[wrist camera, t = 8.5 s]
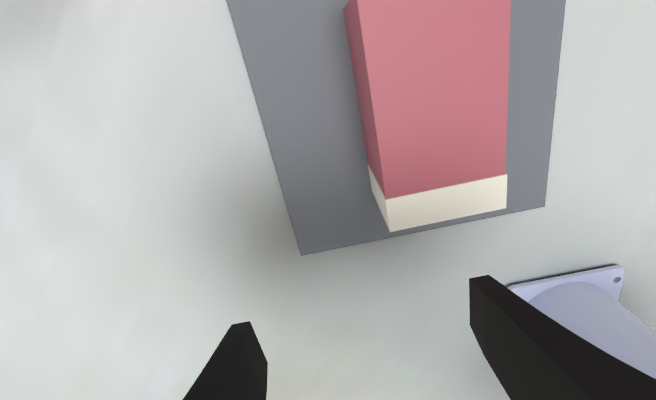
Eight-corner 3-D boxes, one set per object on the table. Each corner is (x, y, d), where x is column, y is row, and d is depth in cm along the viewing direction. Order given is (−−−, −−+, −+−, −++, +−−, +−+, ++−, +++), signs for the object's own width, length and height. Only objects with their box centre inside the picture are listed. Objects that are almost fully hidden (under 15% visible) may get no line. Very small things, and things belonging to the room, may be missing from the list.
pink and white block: (454, -18, 14) (514, -46, 10) (461, 171, 18) (506, 208, 14) (341, 8, 14) (354, -8, 10) (371, 190, 18) (389, 232, 14)
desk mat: (539, 202, 20) (544, 206, 19) (301, 250, 20) (301, 255, 20) (571, -147, 13) (581, -154, 12) (211, -59, 14) (208, -62, 13)
